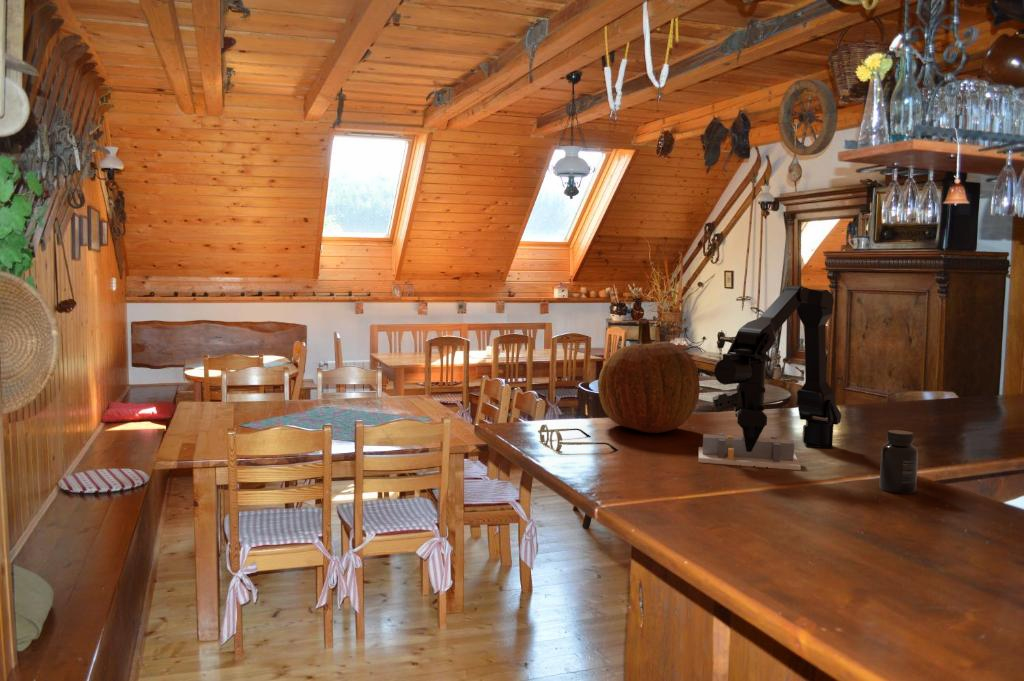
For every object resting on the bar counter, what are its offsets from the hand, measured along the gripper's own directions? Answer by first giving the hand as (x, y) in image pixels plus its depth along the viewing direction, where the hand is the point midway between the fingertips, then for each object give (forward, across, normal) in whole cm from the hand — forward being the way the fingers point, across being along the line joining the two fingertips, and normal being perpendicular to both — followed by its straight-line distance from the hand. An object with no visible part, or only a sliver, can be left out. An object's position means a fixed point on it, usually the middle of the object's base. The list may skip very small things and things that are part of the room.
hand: (748, 448), depth 192 cm
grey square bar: (+2, 0, 0) cm, 2 cm away
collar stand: (+3, 0, 0) cm, 3 cm away
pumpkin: (+3, -27, -26) cm, 37 cm away
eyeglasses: (+3, -3, -40) cm, 40 cm away
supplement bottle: (+3, +17, +28) cm, 33 cm away
